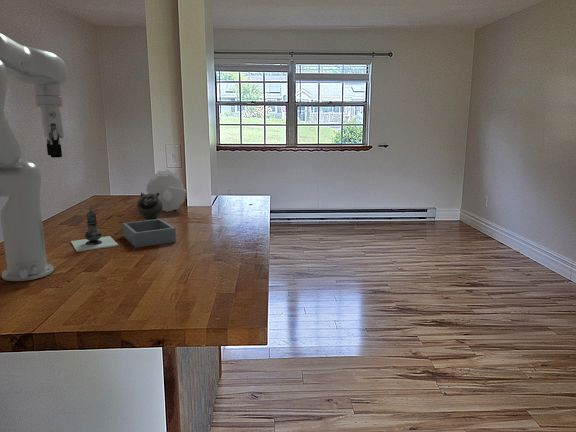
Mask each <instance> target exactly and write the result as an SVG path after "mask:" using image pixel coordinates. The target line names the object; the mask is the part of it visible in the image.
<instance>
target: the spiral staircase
mask: <svg viewBox="0 0 576 432" xmlns="http://www.w3.org/2000/svg"><path fill="white" fill-rule="evenodd" d="M148 180H149V181H148V182H147V184H146V188H145V189H146V192H147V194H155V195H156V193H159V196H158V197H159V198H160V199H161V201H162V204H163V207H162V211H164V212H167V213H168V211H170V212H171V211H174V210H177V209H180V206H181V205H182V204H184V203H185V201H186V199H185V196H186V193H187V190H186V189H185V188H184V184H183V182H182V180H181V177H180V176H179V175H178V174H177V172H172V171H171V170H170V169H166V170H157V172H156V173H154V174H152V175H150V176H149V179H148Z"/></svg>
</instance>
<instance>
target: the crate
mask: <svg viewBox="0 0 576 432" xmlns="http://www.w3.org/2000/svg"><path fill="white" fill-rule="evenodd" d="M144 220H145V219H144ZM122 235H123V237H124V238H125V240H127V241H128V242H129V243H130V244H131V245H132V246H133V247H134V248H135V249H136V248H142V247H143V248H144V247H150V246H156V245H162V244H163V245H164V244H170V243H176V242H177V235H176V227H174V226H173V225H171V224H169V223H168V222H167V221H165V220H163V219H162V218H158V219H154V220H145V221H143V220H139V221H138V220H137V221H130V222H129V221H128V222H122Z"/></svg>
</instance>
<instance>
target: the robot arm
mask: <svg viewBox="0 0 576 432" xmlns="http://www.w3.org/2000/svg"><path fill="white" fill-rule="evenodd" d="M9 75H10V76H13V77H15V78H16V79H17V81H19V82H21V83H23V84H26V85H33V89H34V97H35V100H34V101H35V107H38V108H40V114H41V115H40V117H41V122H42V129H43V134H44V135H43V136H44V137H45V138H46V152H47V155H48V156H50V158H55V159H56V158H62V157H63V152H62V151H63V150H62V144H61V139H63V138H64V136H65V135H64V128H63V121H62V114H61V109H60V108H63V106H64V105H63V98H62V87H61V85H62V84H65V83H66V82H67V81H68V78H69V70H68V66H67V65H66V63H65V61H64V60H63V59H62V58H61V57H59V56H58V55H56V54H55V53H52V52H50V51H47V50H43V49H38V48H36V47H32V46H29V45H24V44H20V43H18V42H17V41H15V40H13V39H12V38H10V37H8V36H6V35H4V34H3V33H1V32H0V197H3V198H4V197H7V201H6V202H5V204H4V205H3V206H2V208H1V211H0V222H1V223H0V224H1V232H2V237H3V238H2V239H3V245H4V253H5V261H6V267H7V268H6V269H5V270H3V271H2V272H1V278H2V280H4V281H8V282H25V281H34V280H38V279H41V278H44V277H47V276H48V275H51V274H52V273H53V272H54V265H52V264H51V263H48V261H47V255H46V246H45V235H44V227H43V226H44V225H43V219H42V209H41V184H42V183H41V182H42V175H41V170H40V168H39V167H38V166H37V165H36V164H35V163H33V162H30V161H28V160H21V158H22V151H21V150H22V149H21V146H20V144H19V142H18V139H17V137H16V136H15V134H14V132H13V130H12V128H11V126H10V124H9V122H8V120H7V118H6V114H5V111H4V110H5V102H6V95H7V88H8V78H9V77H8V76H9Z"/></svg>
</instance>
